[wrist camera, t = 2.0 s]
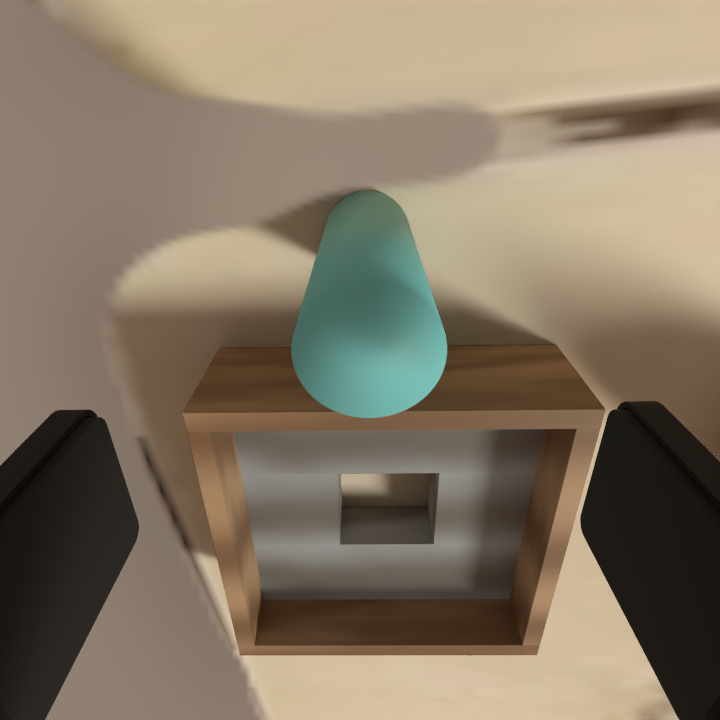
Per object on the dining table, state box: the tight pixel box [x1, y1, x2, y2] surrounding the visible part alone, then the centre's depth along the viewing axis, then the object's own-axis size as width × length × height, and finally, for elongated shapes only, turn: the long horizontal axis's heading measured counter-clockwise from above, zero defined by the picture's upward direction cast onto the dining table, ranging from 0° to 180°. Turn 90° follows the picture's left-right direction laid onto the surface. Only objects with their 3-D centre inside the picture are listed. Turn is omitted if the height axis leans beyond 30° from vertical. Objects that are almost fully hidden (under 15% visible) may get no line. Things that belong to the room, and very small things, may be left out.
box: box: [182, 345, 605, 655], centre depth 27 cm, size 18×18×6 cm
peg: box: [291, 191, 447, 418], centre depth 18 cm, size 4×4×12 cm
